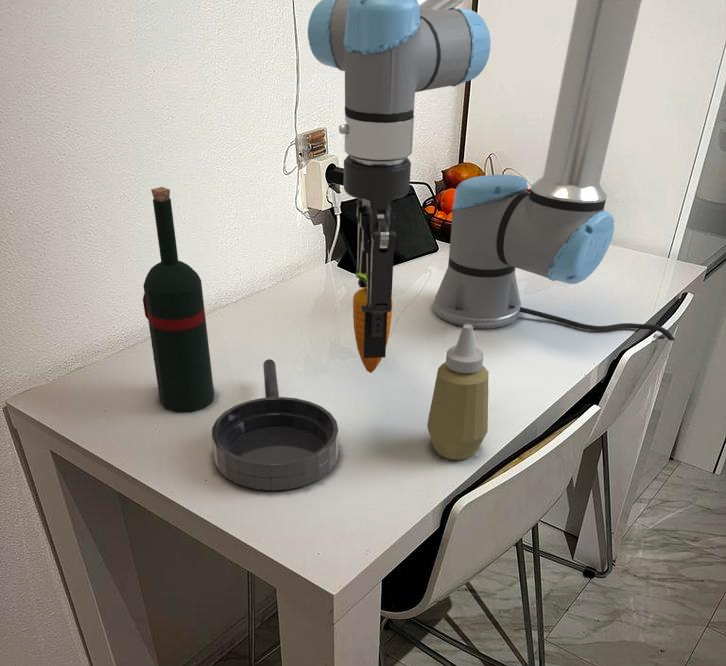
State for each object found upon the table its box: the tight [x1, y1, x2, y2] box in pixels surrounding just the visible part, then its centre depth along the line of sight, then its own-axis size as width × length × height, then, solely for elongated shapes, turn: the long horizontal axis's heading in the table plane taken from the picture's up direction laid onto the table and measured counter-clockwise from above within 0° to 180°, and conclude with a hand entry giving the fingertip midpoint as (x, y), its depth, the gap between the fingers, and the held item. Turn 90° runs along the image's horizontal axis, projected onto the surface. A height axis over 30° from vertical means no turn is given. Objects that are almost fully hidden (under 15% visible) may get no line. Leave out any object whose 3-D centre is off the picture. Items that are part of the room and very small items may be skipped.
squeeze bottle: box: [426, 324, 490, 461], centre depth 103 cm, size 8×8×18 cm
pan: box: [211, 396, 339, 491], centre depth 105 cm, size 16×16×4 cm
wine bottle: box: [142, 186, 215, 413], centre depth 109 cm, size 8×10×30 cm
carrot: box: [352, 272, 393, 374], centre depth 100 cm, size 5×5×15 cm
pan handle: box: [262, 358, 280, 398], centre depth 115 cm, size 2×12×2 cm, turn 8°
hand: (371, 346), depth 102 cm, fingers closed on carrot, 5 cm apart
